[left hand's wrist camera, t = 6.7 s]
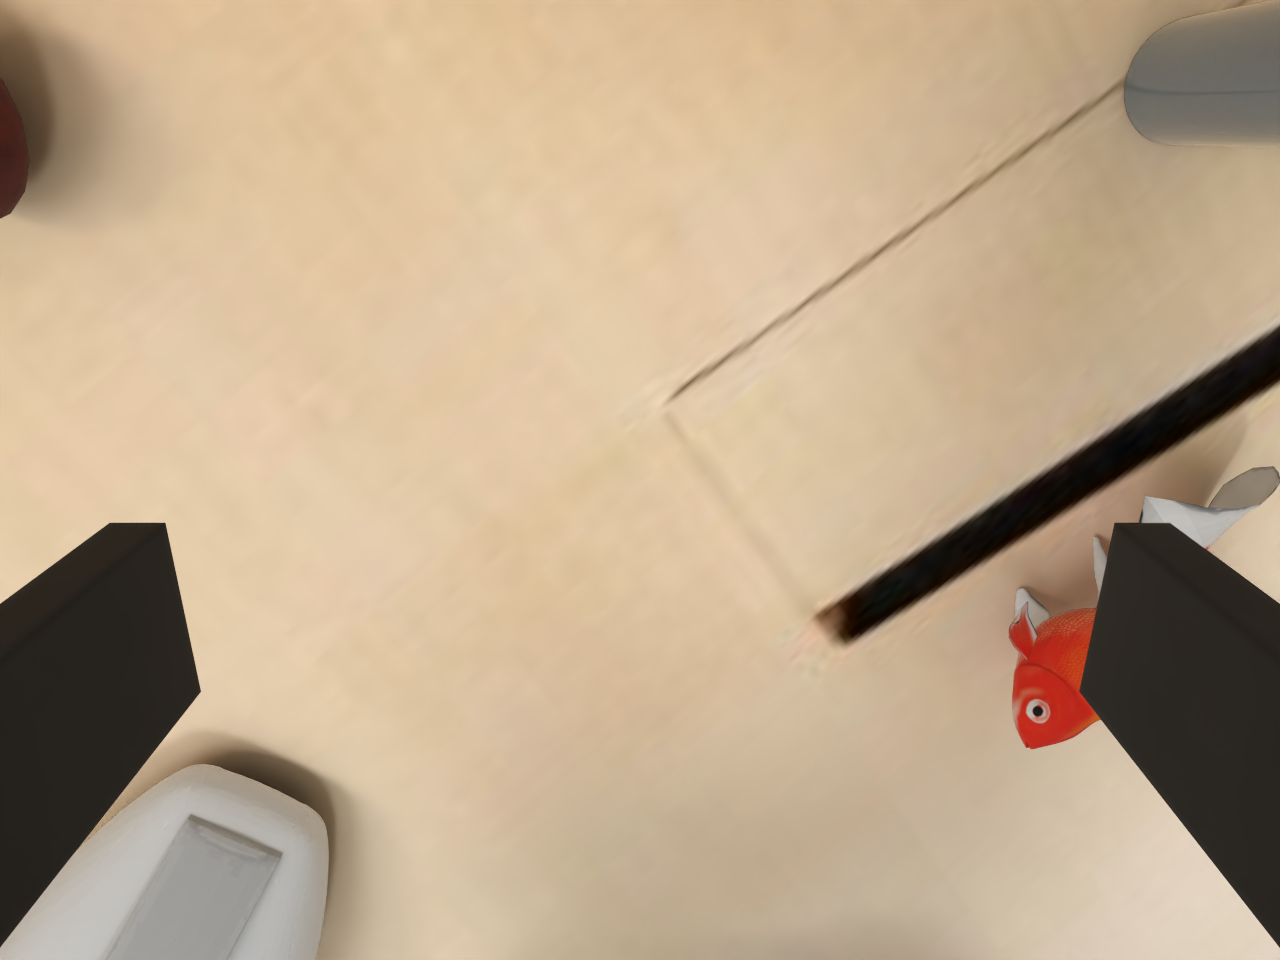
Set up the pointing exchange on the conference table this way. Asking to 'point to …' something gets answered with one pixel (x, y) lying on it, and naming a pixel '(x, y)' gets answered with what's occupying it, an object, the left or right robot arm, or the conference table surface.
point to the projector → (188, 879)
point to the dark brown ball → (11, 154)
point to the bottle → (1210, 80)
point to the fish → (1062, 641)
